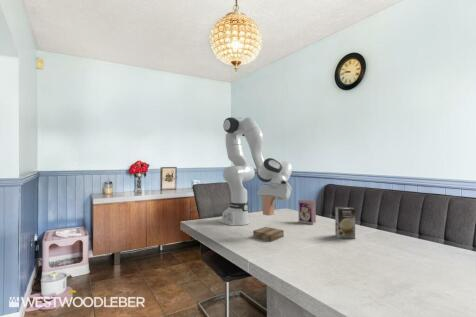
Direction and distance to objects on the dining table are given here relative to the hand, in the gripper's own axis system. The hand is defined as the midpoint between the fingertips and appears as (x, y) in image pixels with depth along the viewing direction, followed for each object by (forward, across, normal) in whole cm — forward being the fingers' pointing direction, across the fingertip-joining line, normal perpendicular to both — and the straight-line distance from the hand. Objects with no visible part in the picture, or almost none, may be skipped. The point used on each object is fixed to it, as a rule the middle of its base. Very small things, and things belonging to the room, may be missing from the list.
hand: (267, 204), depth 146 cm
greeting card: (-19, +1, +45) cm, 49 cm away
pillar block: (+4, 0, +5) cm, 6 cm away
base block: (+13, 0, +14) cm, 19 cm away
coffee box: (-7, +32, +34) cm, 47 cm away
